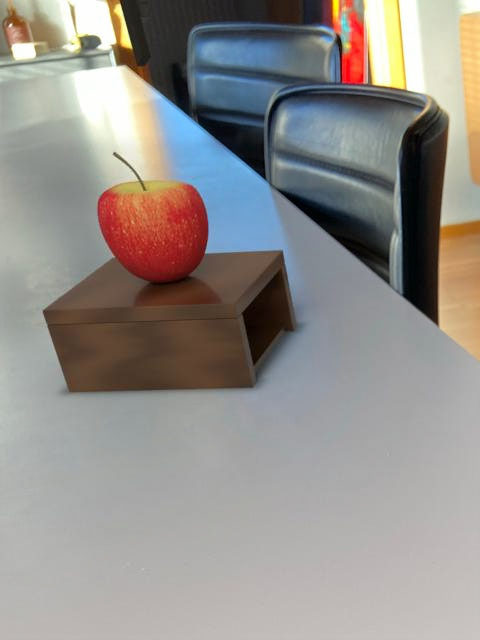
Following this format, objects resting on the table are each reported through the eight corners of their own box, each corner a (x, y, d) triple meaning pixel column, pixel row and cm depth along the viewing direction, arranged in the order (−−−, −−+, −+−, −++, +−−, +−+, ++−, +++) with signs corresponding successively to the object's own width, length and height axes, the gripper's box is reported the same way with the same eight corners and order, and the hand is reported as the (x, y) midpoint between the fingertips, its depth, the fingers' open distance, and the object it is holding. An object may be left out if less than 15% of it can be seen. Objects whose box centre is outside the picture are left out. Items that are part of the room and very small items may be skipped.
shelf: (69, 393, 85) (41, 310, 81) (133, 333, 96) (112, 257, 92) (253, 388, 83) (234, 303, 78) (297, 327, 94) (282, 249, 90)
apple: (114, 273, 87) (78, 147, 81) (213, 257, 89) (185, 132, 83) (119, 301, 81) (81, 166, 75) (225, 282, 83) (196, 149, 77)
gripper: (129, -192, 91) (195, 69, 97) (-184, -200, 81) (-88, 92, 87) (145, -240, 85) (214, 43, 91) (-193, -254, 74) (-89, 65, 81)
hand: (67, 68), depth 89 cm, fingers open, 13 cm apart
